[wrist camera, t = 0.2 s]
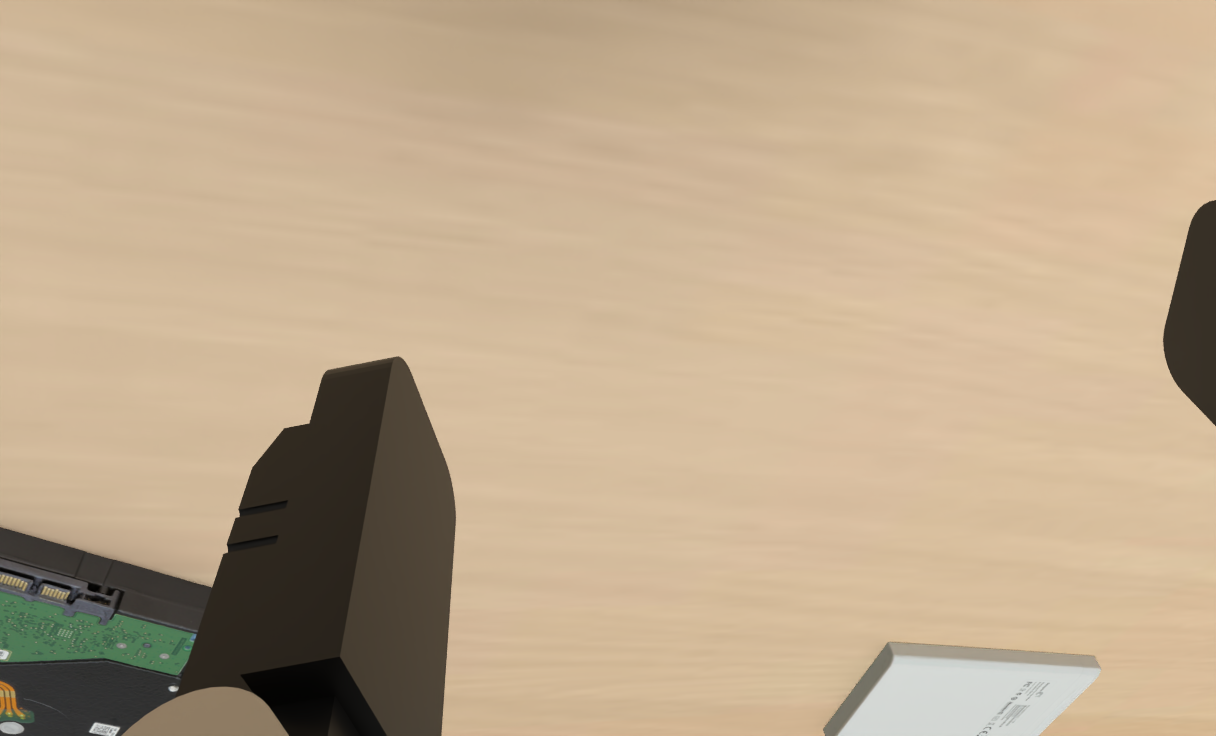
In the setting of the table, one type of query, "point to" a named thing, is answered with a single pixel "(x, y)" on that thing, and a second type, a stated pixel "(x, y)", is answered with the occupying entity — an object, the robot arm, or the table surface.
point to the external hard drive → (961, 692)
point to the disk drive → (88, 639)
